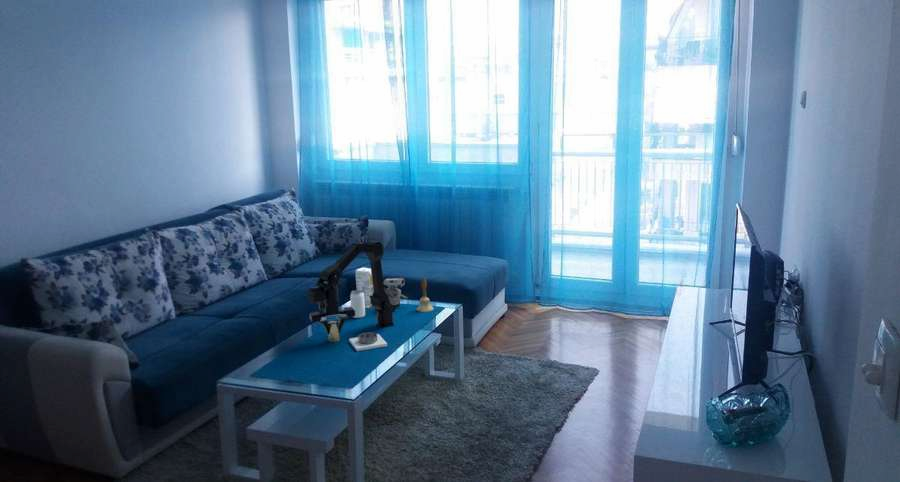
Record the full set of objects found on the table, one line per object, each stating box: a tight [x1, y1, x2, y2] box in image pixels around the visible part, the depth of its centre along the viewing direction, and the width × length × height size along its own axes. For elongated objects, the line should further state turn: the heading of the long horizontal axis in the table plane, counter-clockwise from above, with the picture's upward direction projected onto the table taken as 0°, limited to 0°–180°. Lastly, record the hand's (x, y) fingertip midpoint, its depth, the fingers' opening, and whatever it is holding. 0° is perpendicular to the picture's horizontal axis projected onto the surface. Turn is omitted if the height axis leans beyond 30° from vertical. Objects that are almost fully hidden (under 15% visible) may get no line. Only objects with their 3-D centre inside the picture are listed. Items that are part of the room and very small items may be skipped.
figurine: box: [383, 277, 410, 307], centre depth 339 cm, size 9×12×15 cm
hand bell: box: [416, 277, 434, 313], centre depth 335 cm, size 8×8×16 cm
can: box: [349, 289, 366, 319], centre depth 328 cm, size 6×6×12 cm
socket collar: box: [357, 331, 378, 344], centre depth 291 cm, size 8×8×2 cm
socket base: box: [348, 333, 388, 352], centre depth 292 cm, size 13×13×1 cm
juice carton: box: [355, 266, 374, 309], centre depth 343 cm, size 8×9×19 cm
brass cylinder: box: [327, 320, 340, 343], centre depth 297 cm, size 4×4×8 cm
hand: (333, 333), depth 297 cm, fingers closed on brass cylinder, 4 cm apart
